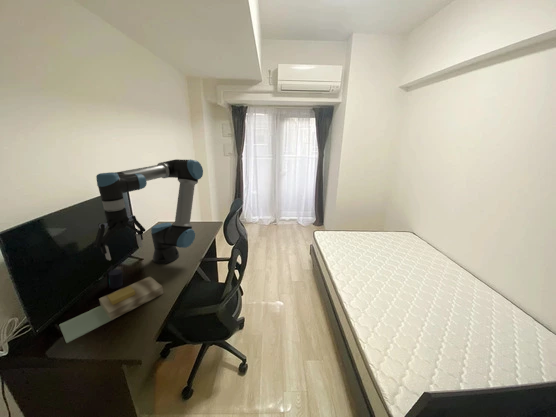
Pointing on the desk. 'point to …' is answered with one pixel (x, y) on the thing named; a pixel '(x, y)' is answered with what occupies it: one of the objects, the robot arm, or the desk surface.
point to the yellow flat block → (121, 295)
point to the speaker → (114, 278)
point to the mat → (84, 323)
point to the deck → (132, 298)
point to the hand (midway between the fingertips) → (125, 252)
